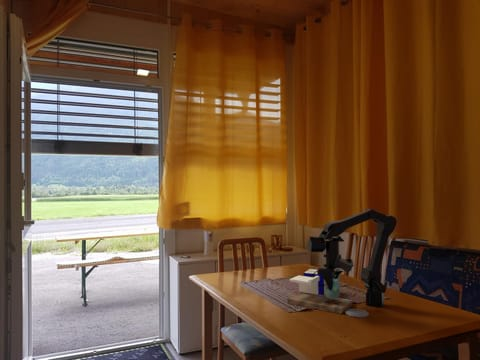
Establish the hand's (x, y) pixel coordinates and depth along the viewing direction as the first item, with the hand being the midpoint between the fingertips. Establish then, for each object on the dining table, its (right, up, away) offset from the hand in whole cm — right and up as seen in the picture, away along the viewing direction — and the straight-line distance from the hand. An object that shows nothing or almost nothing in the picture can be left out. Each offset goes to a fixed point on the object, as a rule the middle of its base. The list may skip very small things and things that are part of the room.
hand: (332, 288), depth 155 cm
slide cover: (-10, -5, +8) cm, 14 cm away
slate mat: (+7, -7, -9) cm, 14 cm away
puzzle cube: (-2, -9, +22) cm, 24 cm away
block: (0, -3, 0) cm, 3 cm away
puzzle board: (-5, -8, +3) cm, 10 cm away
